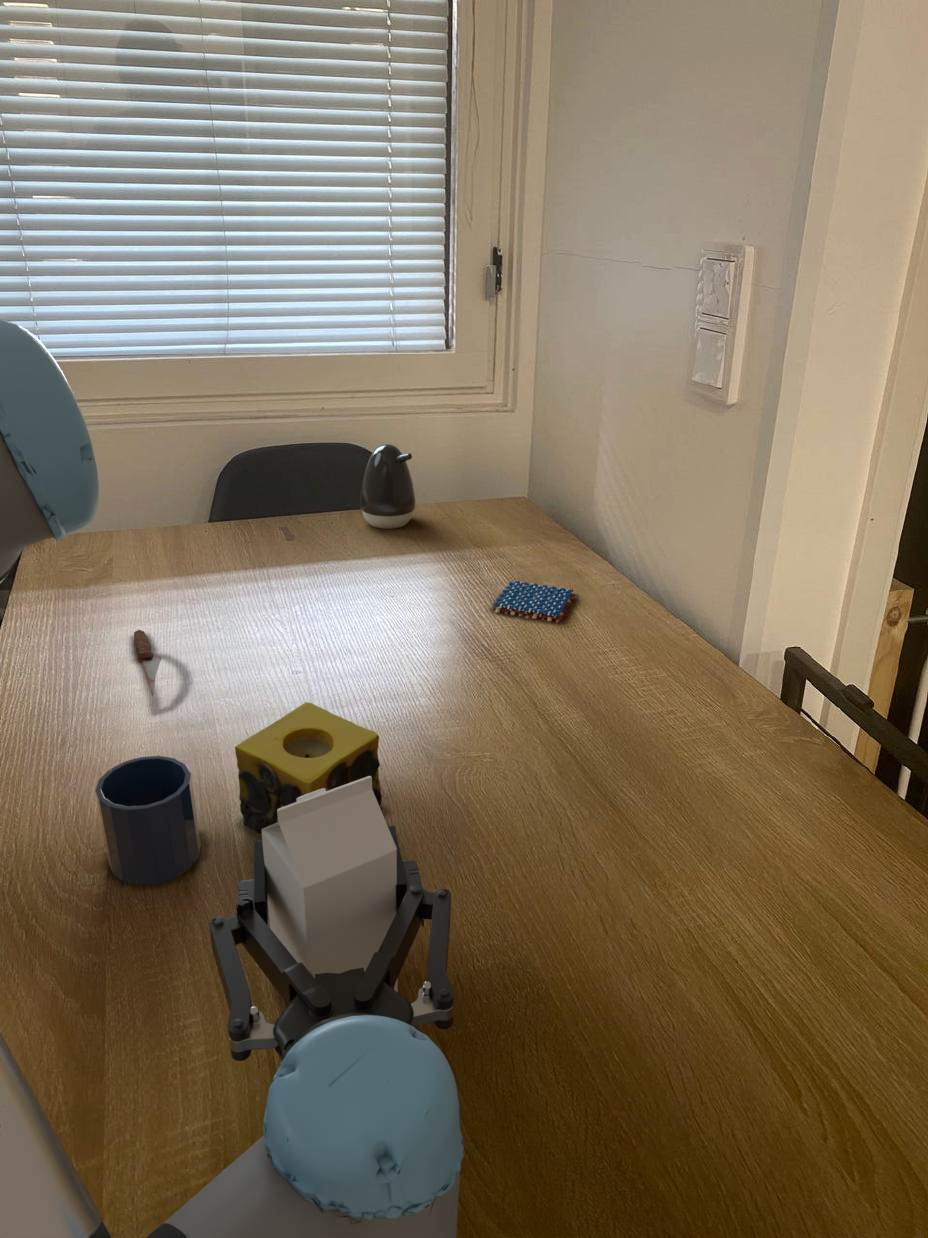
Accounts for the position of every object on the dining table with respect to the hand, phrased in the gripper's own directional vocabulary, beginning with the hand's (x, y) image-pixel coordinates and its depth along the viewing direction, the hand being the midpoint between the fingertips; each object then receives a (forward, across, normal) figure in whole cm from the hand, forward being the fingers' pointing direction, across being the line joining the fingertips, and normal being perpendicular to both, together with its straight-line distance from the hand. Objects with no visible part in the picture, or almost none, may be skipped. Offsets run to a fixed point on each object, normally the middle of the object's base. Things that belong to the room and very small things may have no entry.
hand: (326, 847), depth 70 cm
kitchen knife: (+51, -18, -12) cm, 56 cm away
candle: (+18, -1, -12) cm, 21 cm away
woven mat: (+63, +35, -12) cm, 73 cm away
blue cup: (+15, -15, -12) cm, 24 cm away
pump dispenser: (+102, +18, -12) cm, 104 cm away
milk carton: (-4, 0, -11) cm, 12 cm away
